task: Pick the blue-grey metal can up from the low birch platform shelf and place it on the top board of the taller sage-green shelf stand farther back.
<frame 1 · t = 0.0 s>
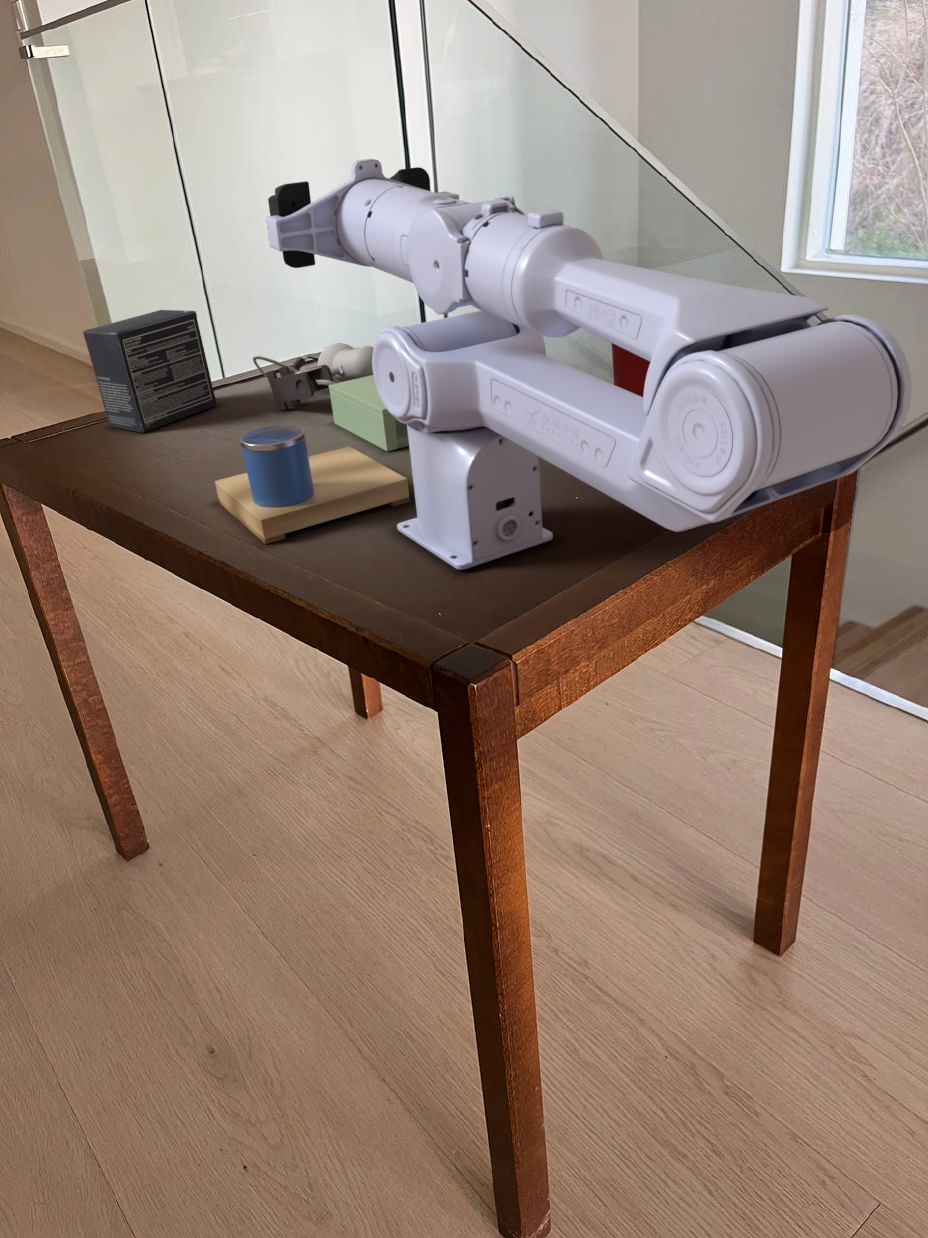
hand: (320, 204, 74), 22 cm above the table, tool horizontal, fingers open, 7 cm apart
can: (283, 495, 75), point 2 cm above the table, touching low shelf
clip-on lamp: (315, 396, 108), on the table
paper cup: (655, 475, 78), on the table
low shelf: (312, 502, 78), on the table
small box: (164, 418, 105), on the table
shelf stand: (413, 423, 95), on the table
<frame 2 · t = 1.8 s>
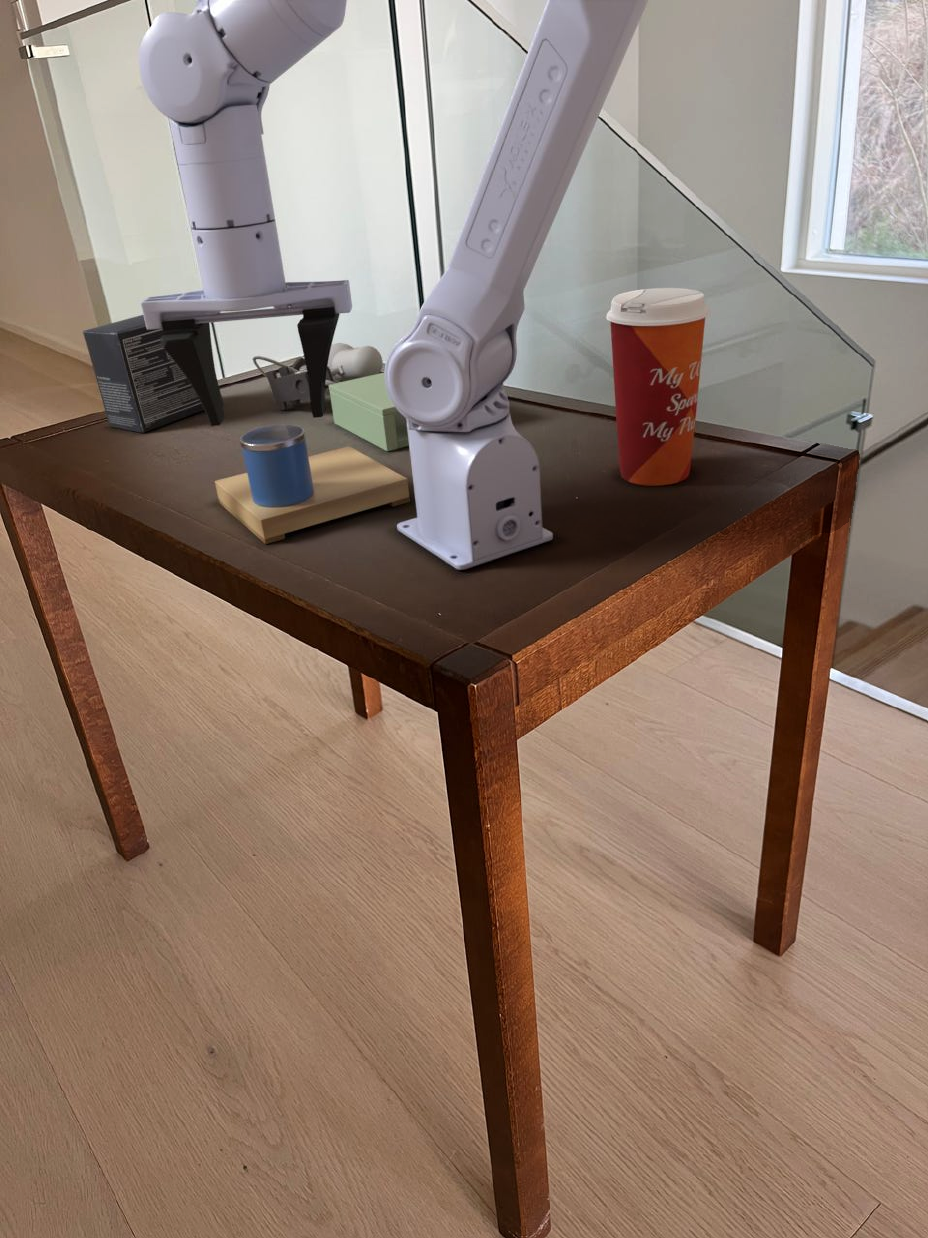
hand: (268, 417, 71), 8 cm above the table, tool pointing down, fingers open, 7 cm apart
nothing on the table moved.
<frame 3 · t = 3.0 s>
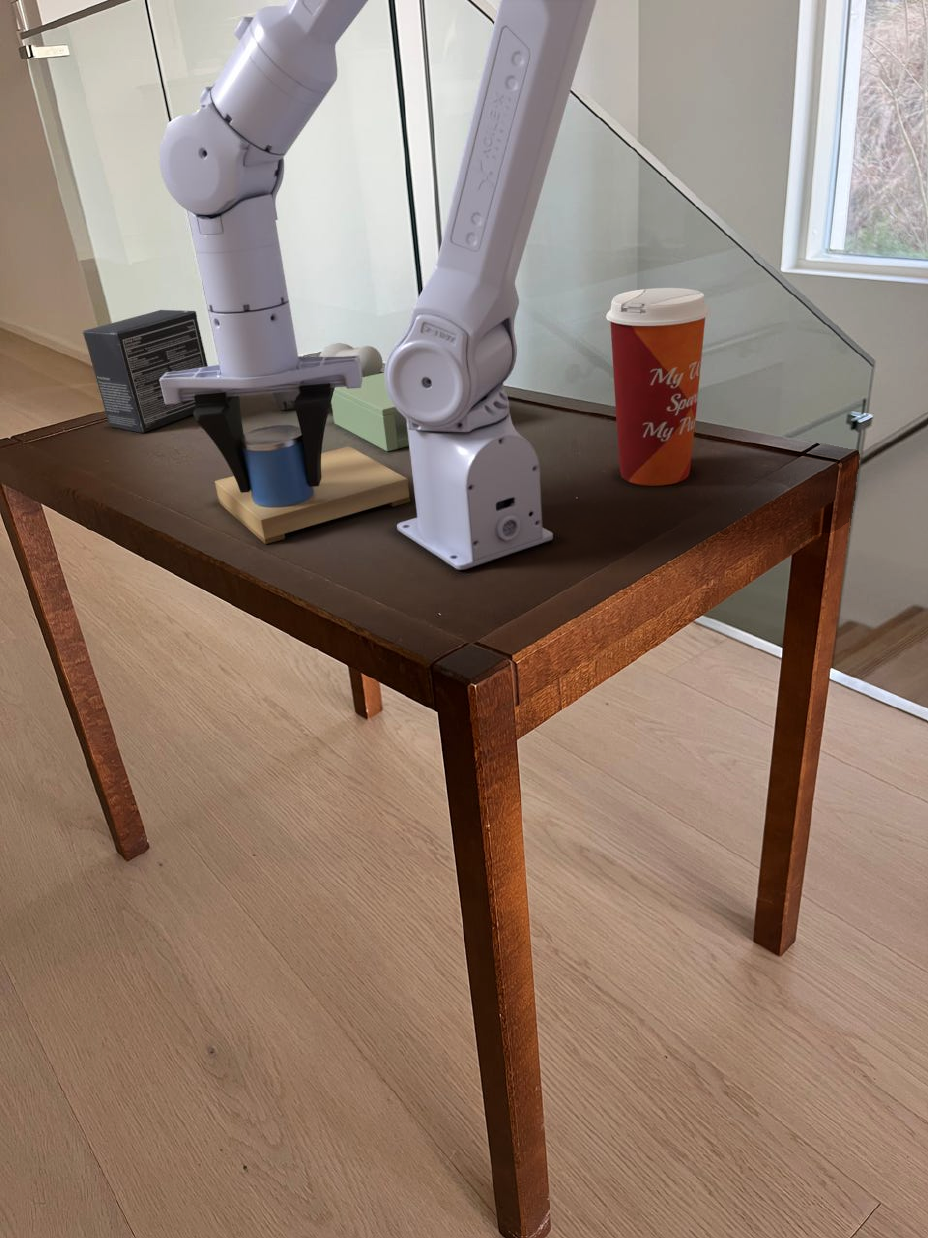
hand: (282, 485, 74), 3 cm above the table, tool pointing down, fingers closed on can, 5 cm apart
can: (283, 495, 74), point 2 cm above the table, touching gripper, low shelf
everything else where it was.
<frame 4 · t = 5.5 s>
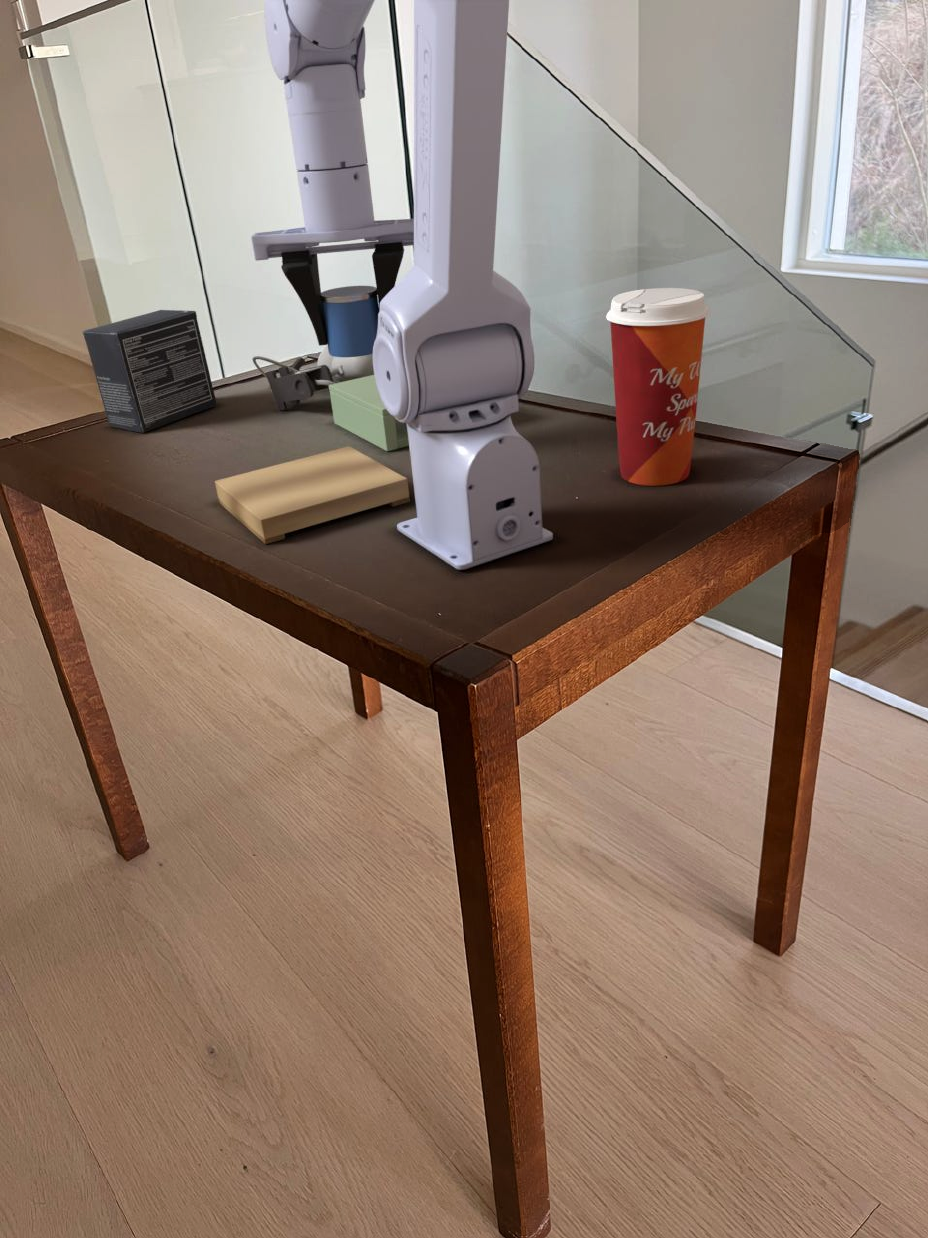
hand: (355, 339, 83), 10 cm above the table, tool pointing down, fingers closed on can, 5 cm apart
can: (356, 350, 83), point 10 cm above the table, touching gripper
everything else where it was.
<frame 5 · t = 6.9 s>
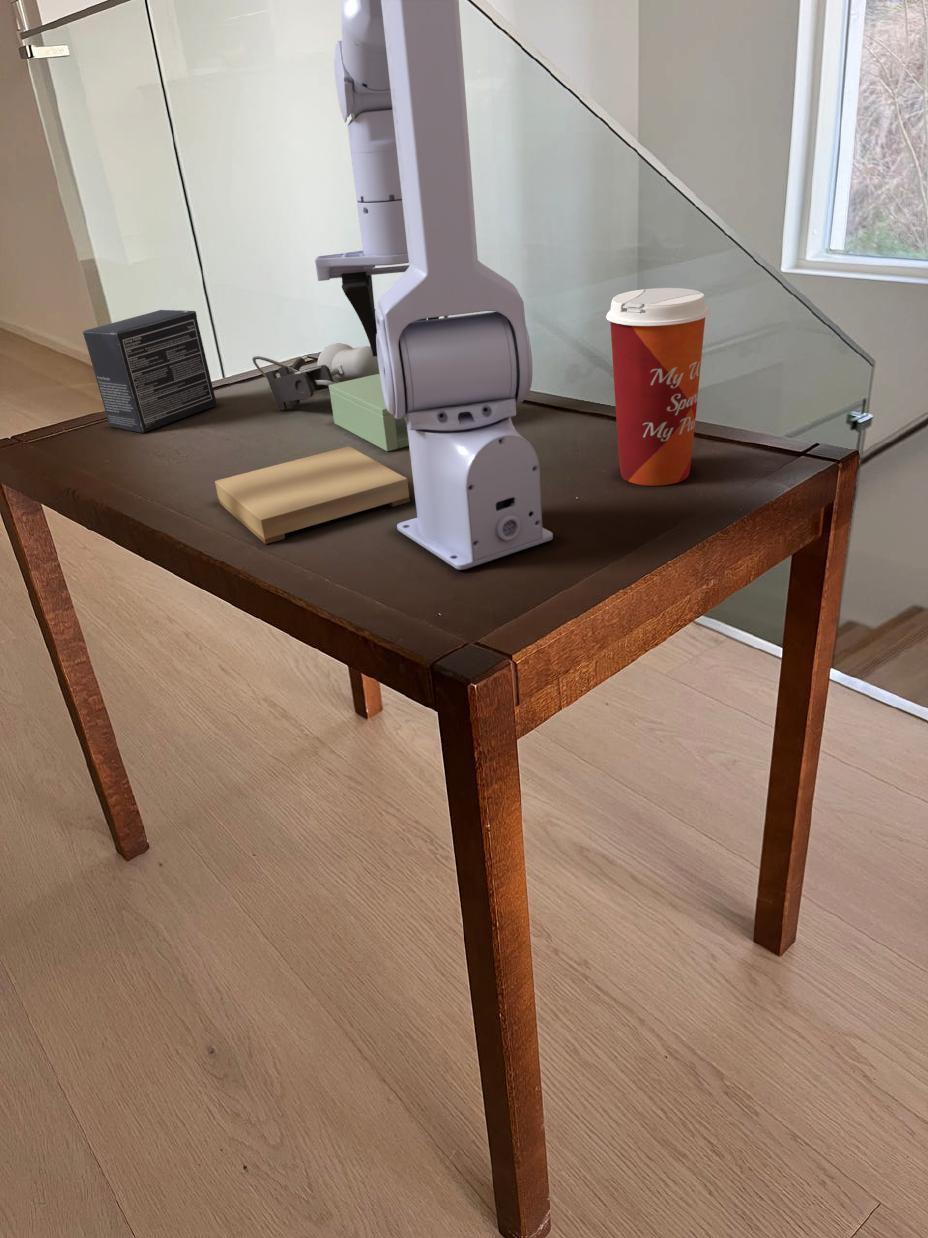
hand: (405, 351, 92), 7 cm above the table, tool pointing down, fingers closed on can, 5 cm apart
can: (405, 360, 92), point 6 cm above the table, touching gripper
everything else where it was.
when the fingers open (5 cm above the table, at t = 8.0 s): can stays where it is, resting on shelf stand.
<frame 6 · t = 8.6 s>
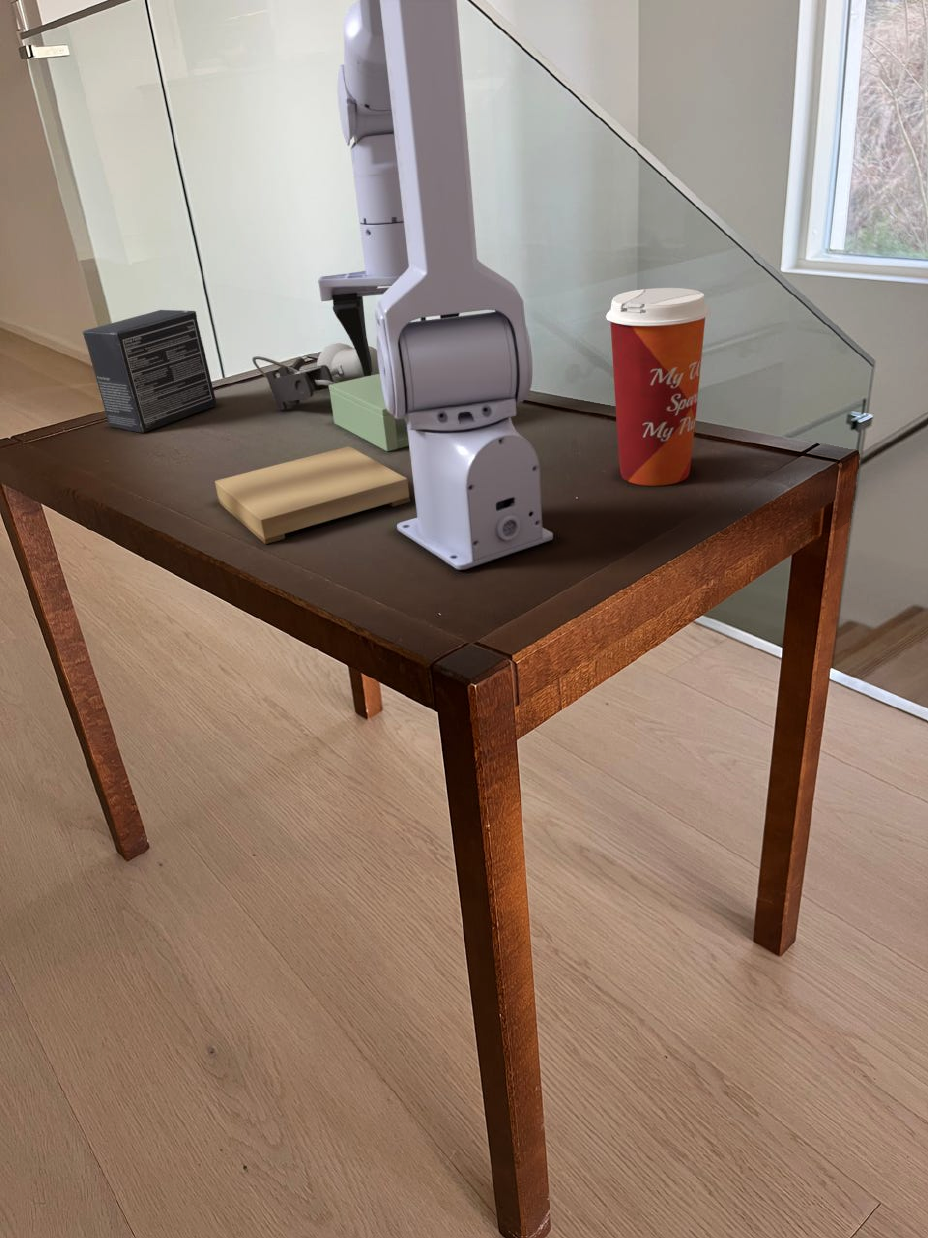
hand: (407, 370, 93), 5 cm above the table, tool pointing down, fingers open, 7 cm apart
can: (408, 383, 93), point 4 cm above the table, touching shelf stand
everything else where it was.
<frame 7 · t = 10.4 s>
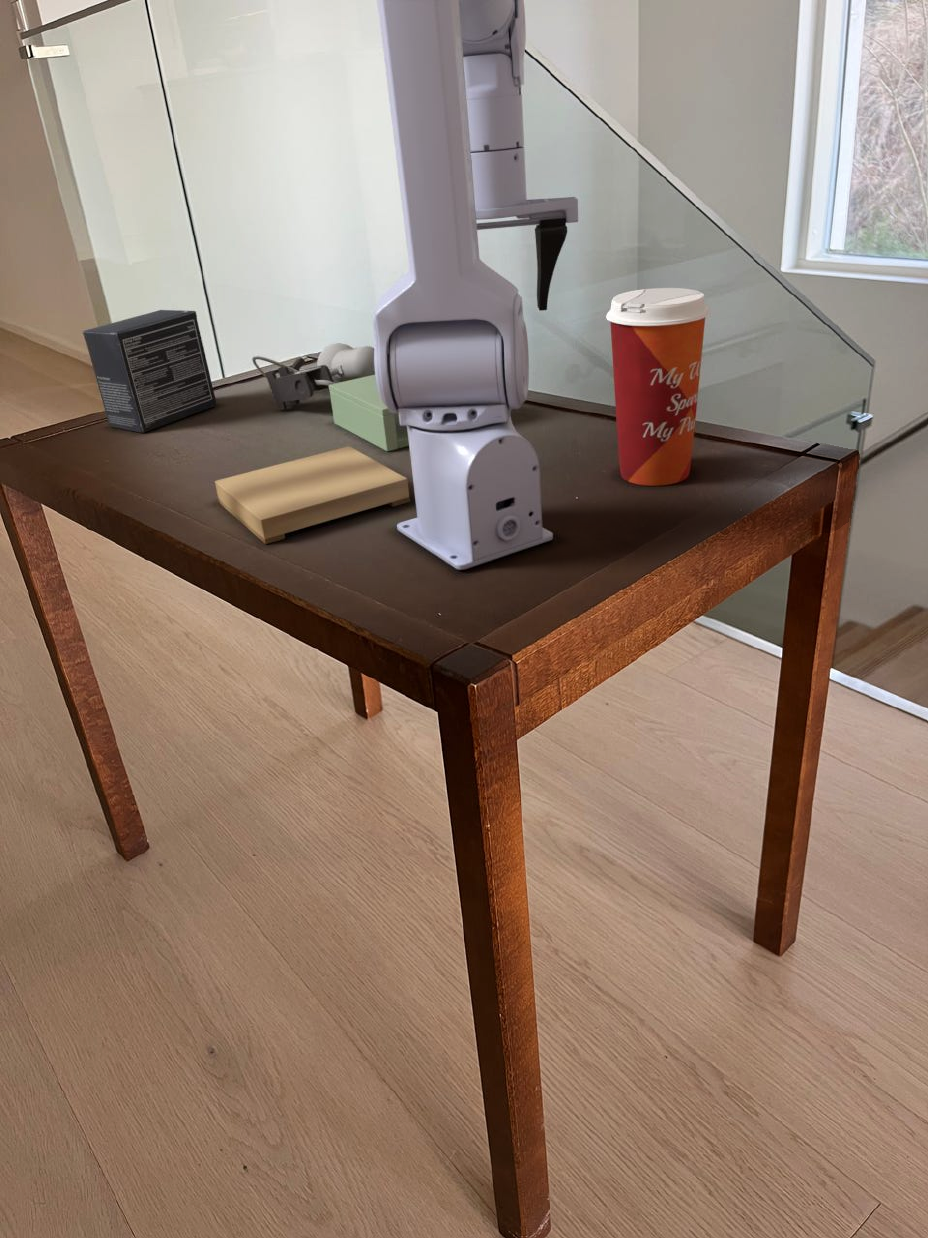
hand: (501, 312, 88), 10 cm above the table, tool pointing down, fingers open, 7 cm apart
nothing on the table moved.
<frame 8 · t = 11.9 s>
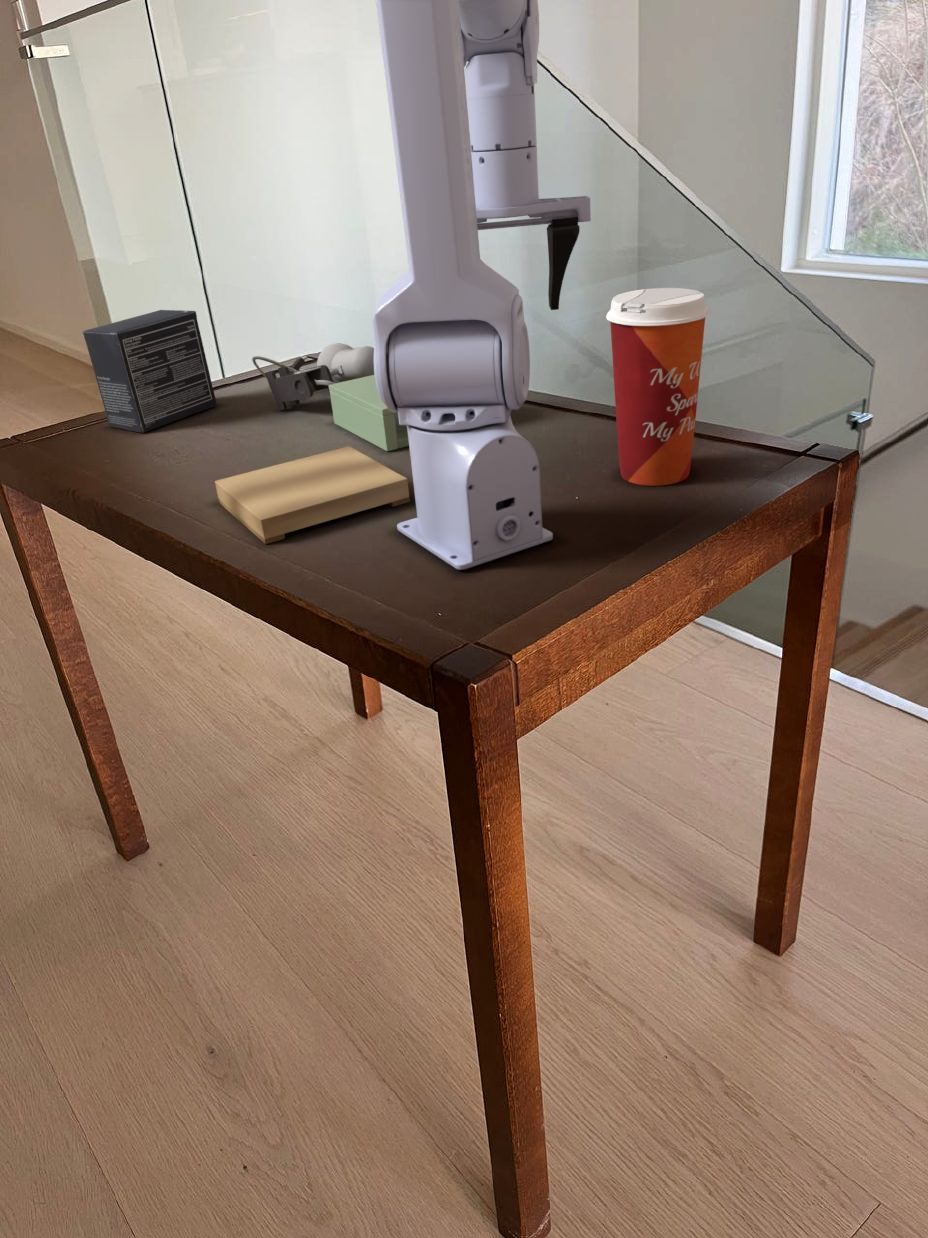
hand: (512, 311, 88), 10 cm above the table, tool pointing down, fingers open, 7 cm apart
nothing on the table moved.
at the end: can inside the target area on the shelf stand (0.0 cm from its centre), point 4.0 cm above the shelf stand's base; can tilted 0° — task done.
